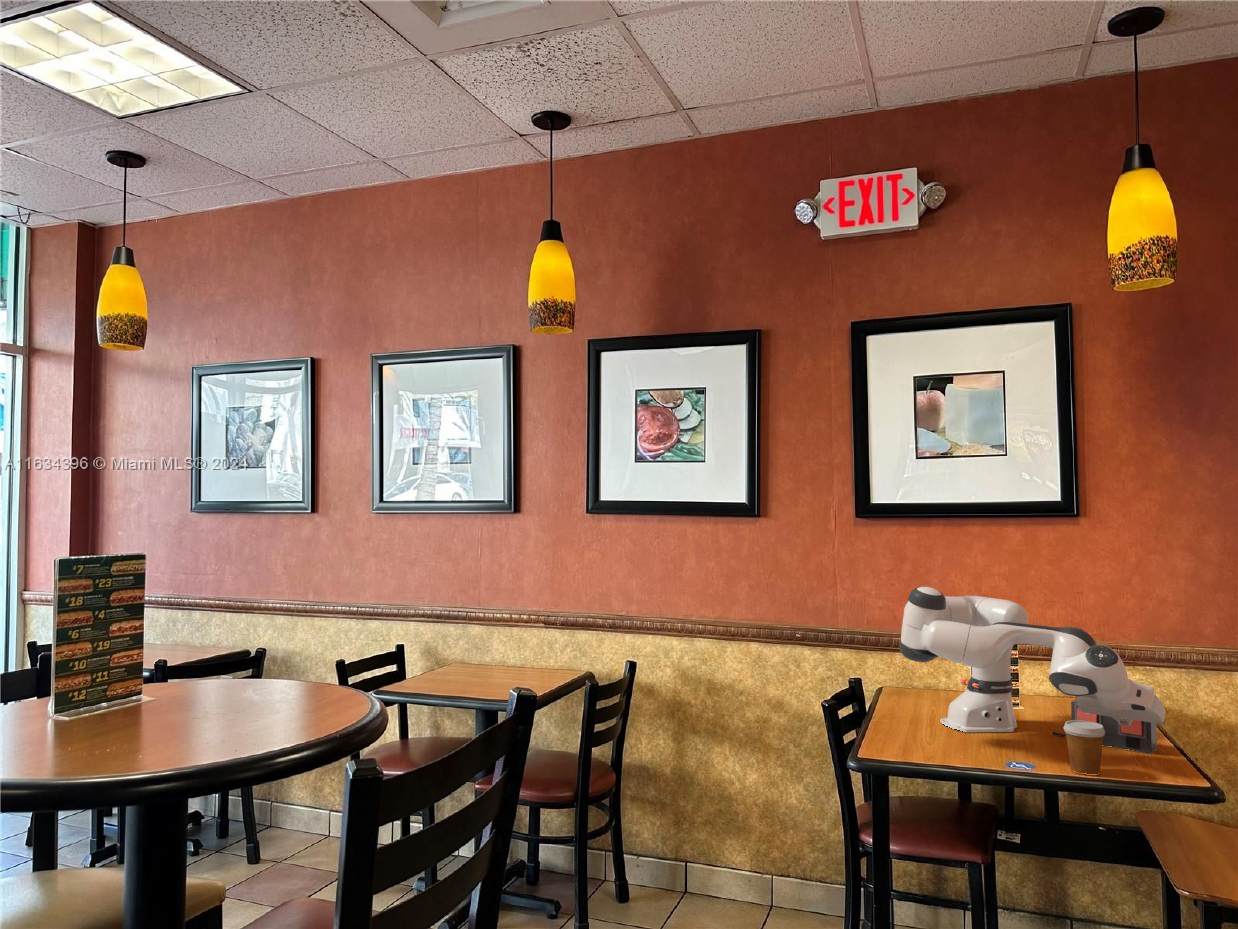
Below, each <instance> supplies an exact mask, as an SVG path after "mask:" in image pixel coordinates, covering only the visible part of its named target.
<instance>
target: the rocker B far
mask: <svg viewBox="0 0 1238 929" xmlns="http://www.w3.org/2000/svg"><path fill="white" fill-rule="evenodd" d="M1120 727H1121V732H1122V733H1129V734H1135V735H1141V736H1142V734H1143V732H1142V722H1141V721H1137V720H1133V721H1132V724H1131V726H1126V725H1120Z"/></svg>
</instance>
